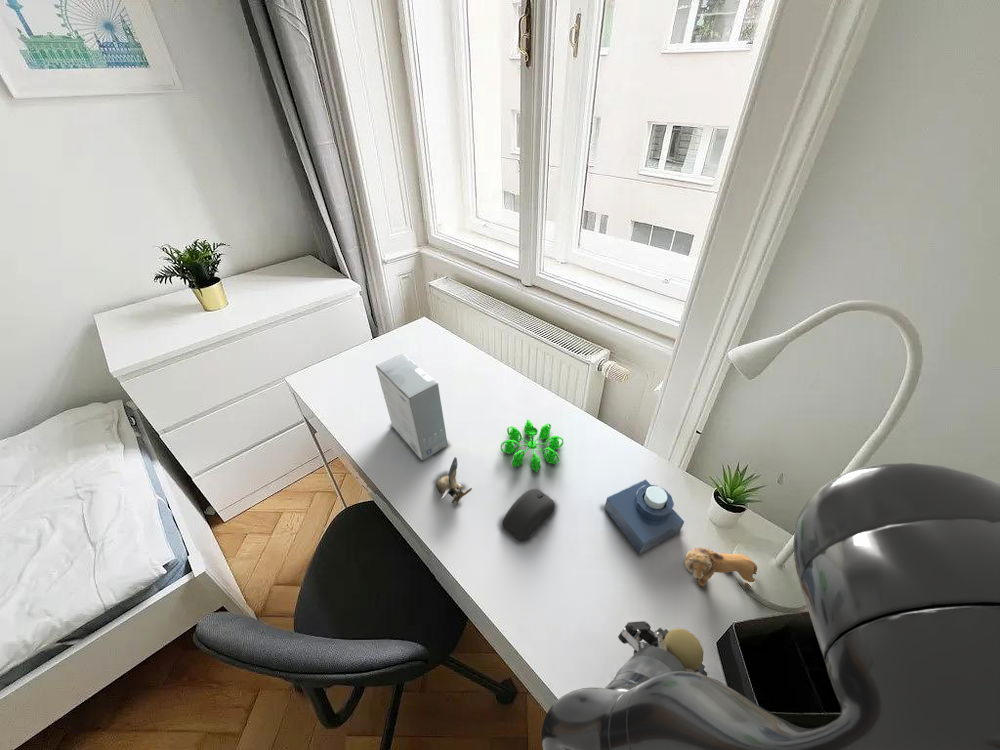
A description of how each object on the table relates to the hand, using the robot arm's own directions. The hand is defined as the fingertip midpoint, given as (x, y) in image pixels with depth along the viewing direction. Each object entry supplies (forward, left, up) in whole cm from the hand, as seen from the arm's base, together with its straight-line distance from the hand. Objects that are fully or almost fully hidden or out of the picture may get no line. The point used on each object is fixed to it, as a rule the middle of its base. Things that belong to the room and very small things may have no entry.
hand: (681, 651), depth 60 cm
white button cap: (+22, -14, 0) cm, 26 cm away
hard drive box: (+65, +22, -6) cm, 68 cm away
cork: (-1, +1, -6) cm, 6 cm away
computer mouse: (+33, +8, -6) cm, 34 cm away
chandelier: (+48, -1, -6) cm, 48 cm away
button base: (+22, -12, -5) cm, 25 cm away
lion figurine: (+7, -16, -6) cm, 18 cm away
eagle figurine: (+46, +20, -6) cm, 50 cm away
